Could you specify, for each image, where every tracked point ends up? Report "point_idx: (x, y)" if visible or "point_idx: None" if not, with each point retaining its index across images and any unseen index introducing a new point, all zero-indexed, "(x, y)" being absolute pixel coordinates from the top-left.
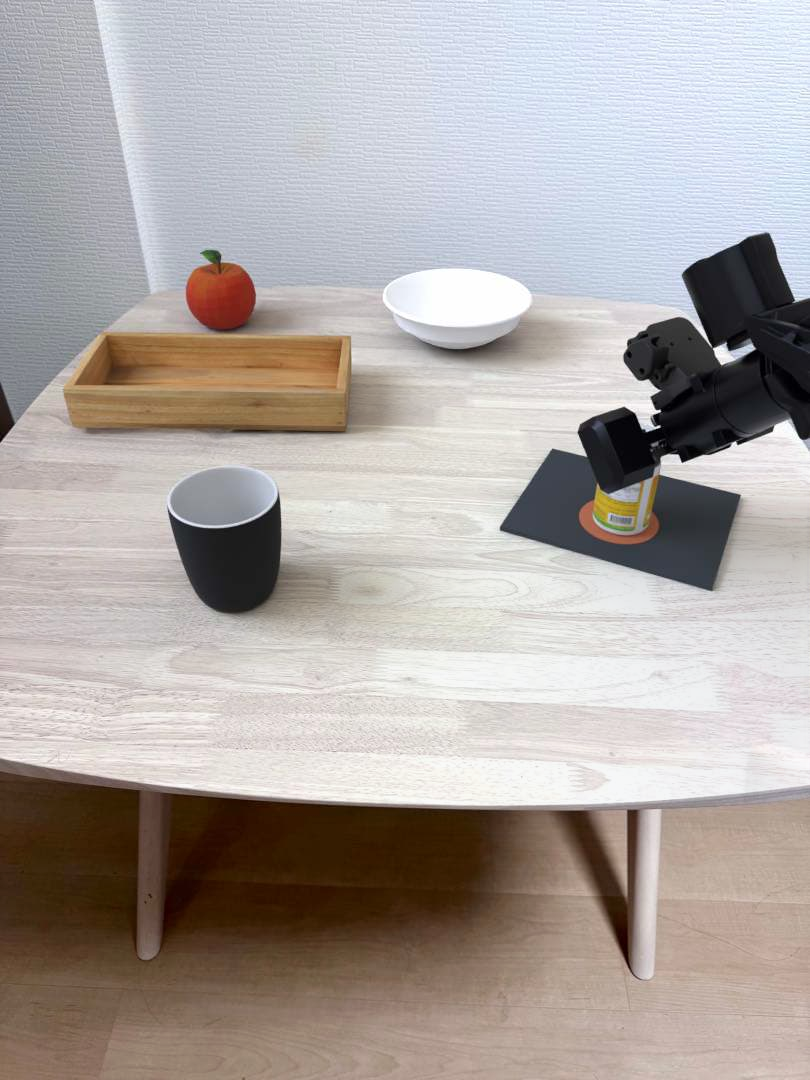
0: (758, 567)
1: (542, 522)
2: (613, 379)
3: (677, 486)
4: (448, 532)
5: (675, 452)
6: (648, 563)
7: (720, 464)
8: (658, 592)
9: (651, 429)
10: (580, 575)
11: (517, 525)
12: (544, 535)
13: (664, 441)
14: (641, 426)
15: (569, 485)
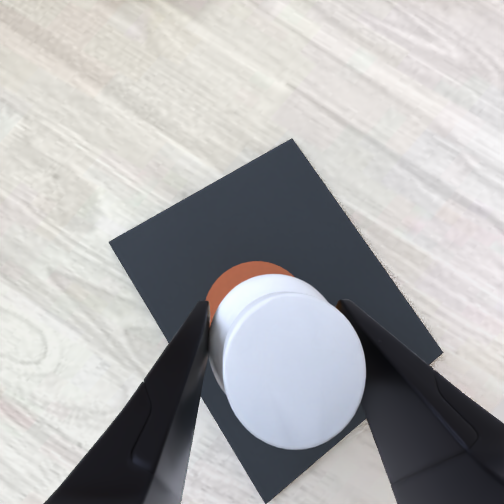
0: (355, 485)
1: (163, 265)
2: (468, 58)
3: (380, 293)
4: (50, 211)
5: (368, 420)
6: (225, 414)
7: (465, 276)
8: (201, 461)
9: (354, 373)
10: (136, 377)
11: (129, 253)
12: (146, 289)
13: (371, 380)
14: (338, 341)
15: (254, 216)
